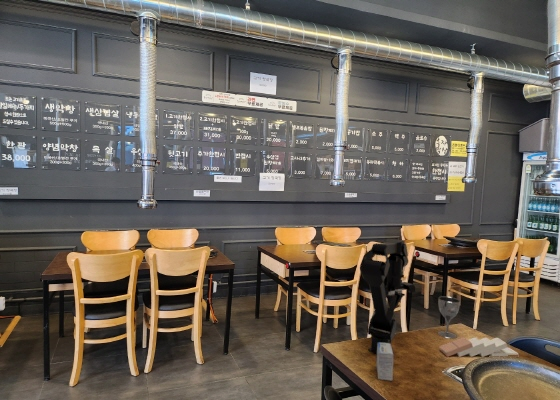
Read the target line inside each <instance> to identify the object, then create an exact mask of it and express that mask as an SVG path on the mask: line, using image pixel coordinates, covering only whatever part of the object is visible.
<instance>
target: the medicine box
mask: <svg viewBox="0 0 560 400" xmlns="http://www.w3.org/2000/svg"><path fill="white" fill-rule="evenodd" d="M392 348H393V347H392V343H391V344H389V343H381V342H378V343H377V355H376V364H375V365H376V372H377V379H378V380H382V381H390V382H392V381H393V380H394V379H393V378H394V377H393V376H394V375H393V372H394V351H393V349H392Z"/></svg>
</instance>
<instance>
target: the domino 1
mask: <svg viewBox="0 0 560 400" xmlns="http://www.w3.org/2000/svg"><path fill="white" fill-rule="evenodd" d="M468 340H469V339H467V338H466V337H464V336H463V337H460V338H458V339H455V340H453V341H452V340H451V341H450V342H448V343H445V344H442V345H439V346H438V347H439V350H440V352H441V353H443V354H444V355H445V356H446V357H447V358H448V357H450V356H453V355H457V354H456V353H459V352H461V351H464V350H466V349H469V348H472V347H473V346H472V343H471V342H470V341H468Z"/></svg>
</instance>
